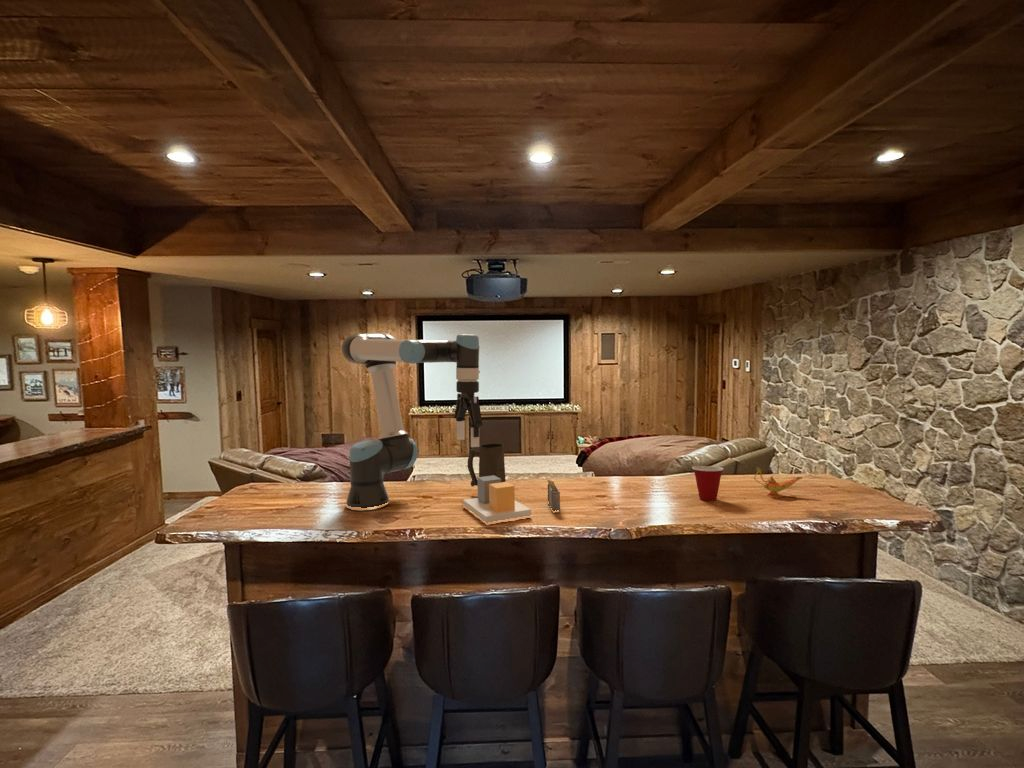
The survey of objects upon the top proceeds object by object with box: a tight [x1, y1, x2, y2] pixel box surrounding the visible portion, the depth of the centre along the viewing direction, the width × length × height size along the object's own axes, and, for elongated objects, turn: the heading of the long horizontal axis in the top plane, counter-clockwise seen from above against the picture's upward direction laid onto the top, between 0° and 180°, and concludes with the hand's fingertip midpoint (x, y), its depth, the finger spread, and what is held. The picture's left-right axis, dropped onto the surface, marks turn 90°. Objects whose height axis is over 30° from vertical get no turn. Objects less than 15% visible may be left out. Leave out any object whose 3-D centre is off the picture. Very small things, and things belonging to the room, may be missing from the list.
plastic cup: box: [691, 465, 724, 502], centre depth 188 cm, size 11×11×12 cm
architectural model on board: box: [546, 478, 561, 512], centre depth 181 cm, size 11×3×10 cm, turn 4°
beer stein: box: [467, 443, 507, 487], centre depth 200 cm, size 15×11×20 cm
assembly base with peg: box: [462, 475, 532, 523], centre depth 177 cm, size 22×16×11 cm
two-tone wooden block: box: [489, 481, 516, 513], centre depth 171 cm, size 6×6×8 cm
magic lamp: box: [753, 466, 803, 499], centre depth 191 cm, size 7×18×11 cm, turn 89°
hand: (467, 443), depth 174 cm, fingers open, 13 cm apart
